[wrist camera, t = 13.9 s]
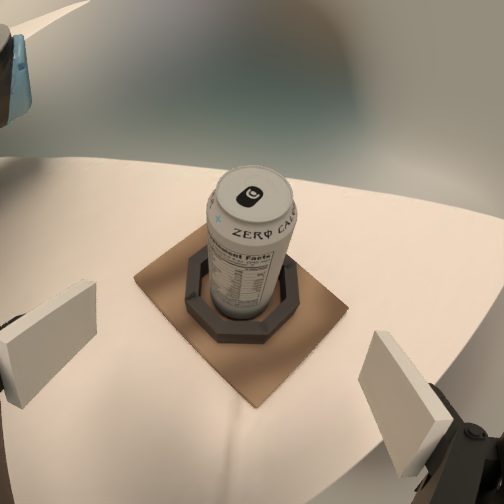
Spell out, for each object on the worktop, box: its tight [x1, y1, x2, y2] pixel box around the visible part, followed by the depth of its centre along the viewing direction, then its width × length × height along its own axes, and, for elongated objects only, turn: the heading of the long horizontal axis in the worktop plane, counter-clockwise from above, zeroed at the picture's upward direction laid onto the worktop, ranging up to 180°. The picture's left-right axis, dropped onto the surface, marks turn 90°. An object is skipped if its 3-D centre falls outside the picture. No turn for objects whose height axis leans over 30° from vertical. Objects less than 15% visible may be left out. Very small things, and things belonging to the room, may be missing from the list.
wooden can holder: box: [134, 223, 349, 408], centre depth 32 cm, size 18×14×4 cm
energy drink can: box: [206, 165, 297, 319], centre depth 26 cm, size 6×6×15 cm
